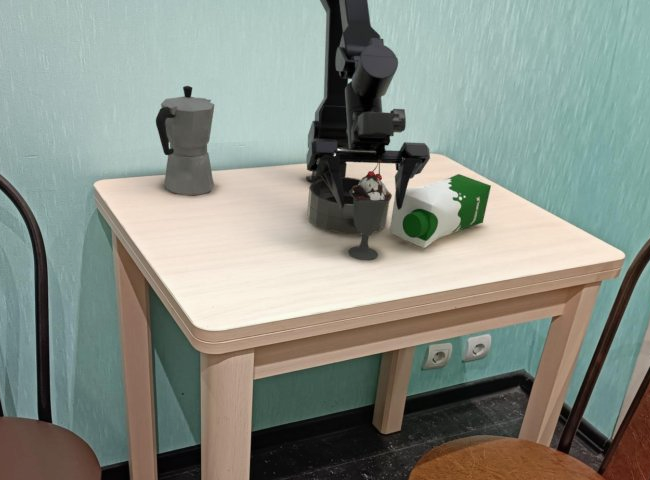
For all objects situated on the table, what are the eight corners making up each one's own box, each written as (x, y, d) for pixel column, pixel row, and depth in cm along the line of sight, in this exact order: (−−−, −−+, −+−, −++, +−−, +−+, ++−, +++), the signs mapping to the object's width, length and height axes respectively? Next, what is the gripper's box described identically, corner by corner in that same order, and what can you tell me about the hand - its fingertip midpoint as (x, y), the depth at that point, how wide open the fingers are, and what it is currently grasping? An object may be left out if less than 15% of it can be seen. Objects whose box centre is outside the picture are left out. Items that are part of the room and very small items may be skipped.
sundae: (379, 246, 127) (391, 156, 118) (386, 263, 121) (399, 170, 113) (340, 244, 126) (350, 154, 117) (345, 261, 120) (355, 168, 112)
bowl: (291, 214, 135) (293, 184, 132) (350, 201, 143) (353, 172, 140) (342, 242, 127) (345, 211, 123) (402, 227, 135) (407, 197, 132)
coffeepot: (188, 172, 148) (187, 75, 138) (229, 183, 145) (231, 84, 135) (138, 193, 137) (133, 89, 127) (182, 206, 134) (180, 100, 124)
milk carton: (486, 229, 138) (418, 255, 125) (446, 213, 142) (377, 237, 130) (496, 181, 133) (427, 204, 120) (455, 166, 138) (384, 187, 125)
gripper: (315, 83, 111) (321, 183, 108) (437, 89, 114) (445, 186, 112) (303, 123, 122) (308, 214, 119) (415, 128, 125) (422, 217, 122)
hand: (371, 207), depth 118 cm, fingers open, 9 cm apart
